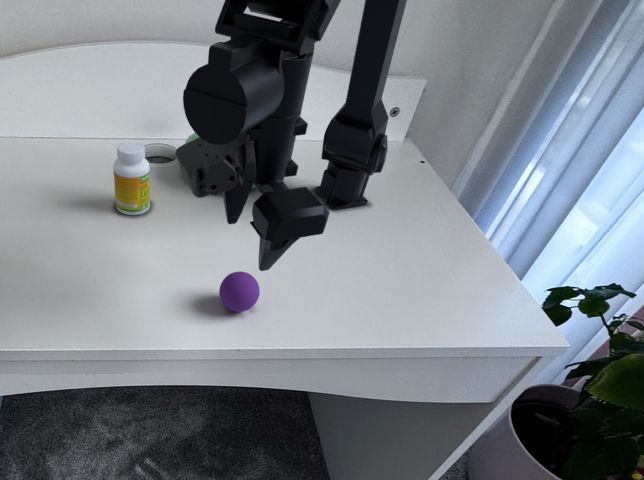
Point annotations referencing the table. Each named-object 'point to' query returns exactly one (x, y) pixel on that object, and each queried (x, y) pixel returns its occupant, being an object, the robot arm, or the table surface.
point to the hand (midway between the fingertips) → (247, 245)
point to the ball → (239, 291)
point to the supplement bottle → (132, 178)
